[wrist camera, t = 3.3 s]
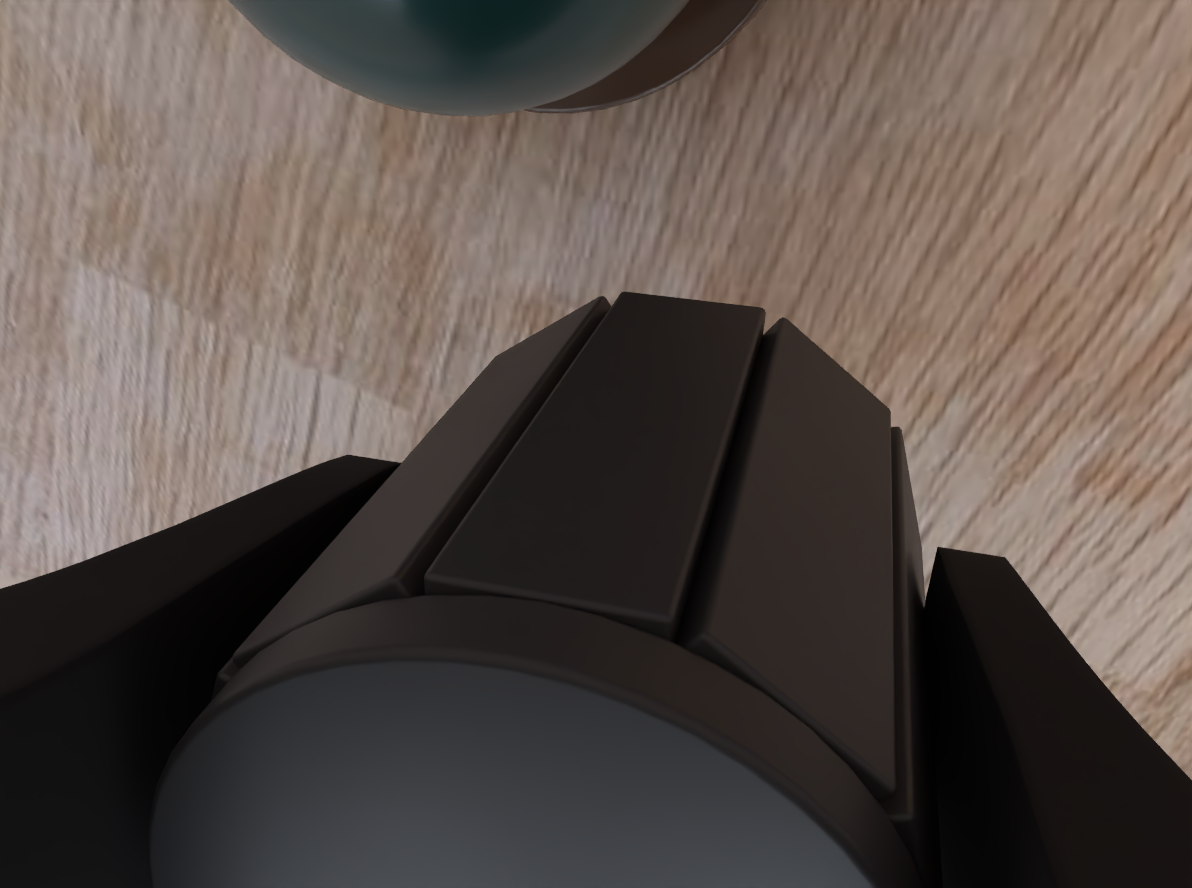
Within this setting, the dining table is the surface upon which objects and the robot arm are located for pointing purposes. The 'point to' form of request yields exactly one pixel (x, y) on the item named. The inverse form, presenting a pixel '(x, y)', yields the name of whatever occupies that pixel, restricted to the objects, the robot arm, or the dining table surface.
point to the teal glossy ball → (500, 48)
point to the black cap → (593, 640)
